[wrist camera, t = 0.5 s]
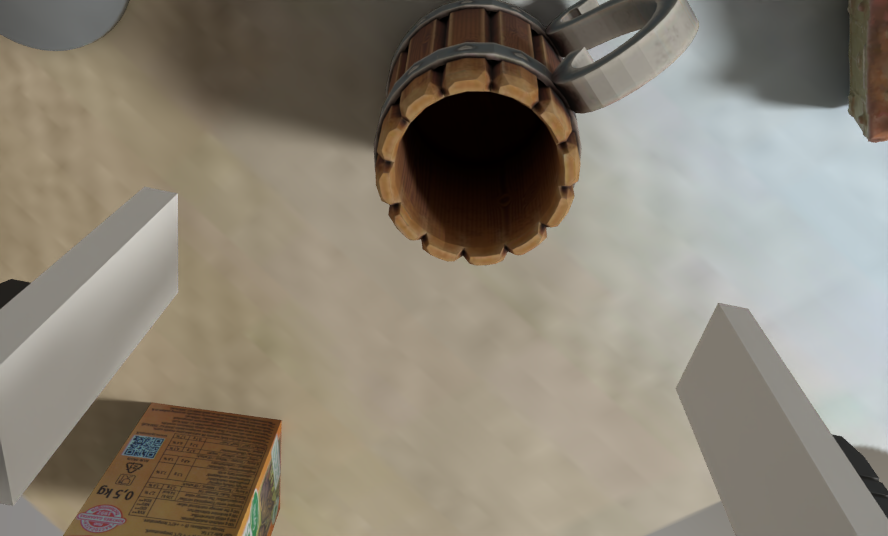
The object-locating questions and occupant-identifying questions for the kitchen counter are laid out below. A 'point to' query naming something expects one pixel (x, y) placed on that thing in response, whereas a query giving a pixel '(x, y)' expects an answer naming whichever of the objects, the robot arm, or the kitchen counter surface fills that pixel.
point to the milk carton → (189, 478)
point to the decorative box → (869, 67)
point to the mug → (506, 115)
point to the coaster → (59, 22)
